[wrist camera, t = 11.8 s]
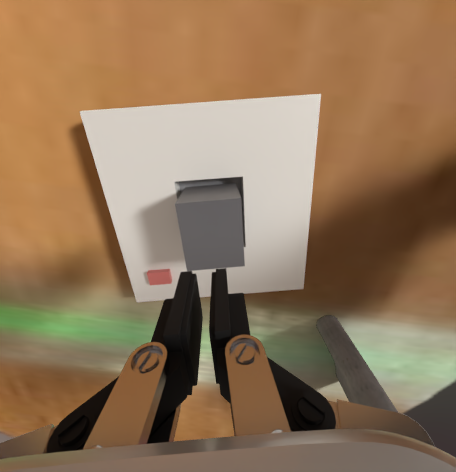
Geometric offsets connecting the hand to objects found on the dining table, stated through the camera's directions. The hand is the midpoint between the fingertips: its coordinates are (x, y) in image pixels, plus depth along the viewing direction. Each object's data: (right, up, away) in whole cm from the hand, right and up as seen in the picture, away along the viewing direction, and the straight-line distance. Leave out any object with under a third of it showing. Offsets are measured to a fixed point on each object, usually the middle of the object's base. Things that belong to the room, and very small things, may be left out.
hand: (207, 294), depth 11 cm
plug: (0, +6, +13) cm, 14 cm away
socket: (-1, +6, +14) cm, 15 cm away
